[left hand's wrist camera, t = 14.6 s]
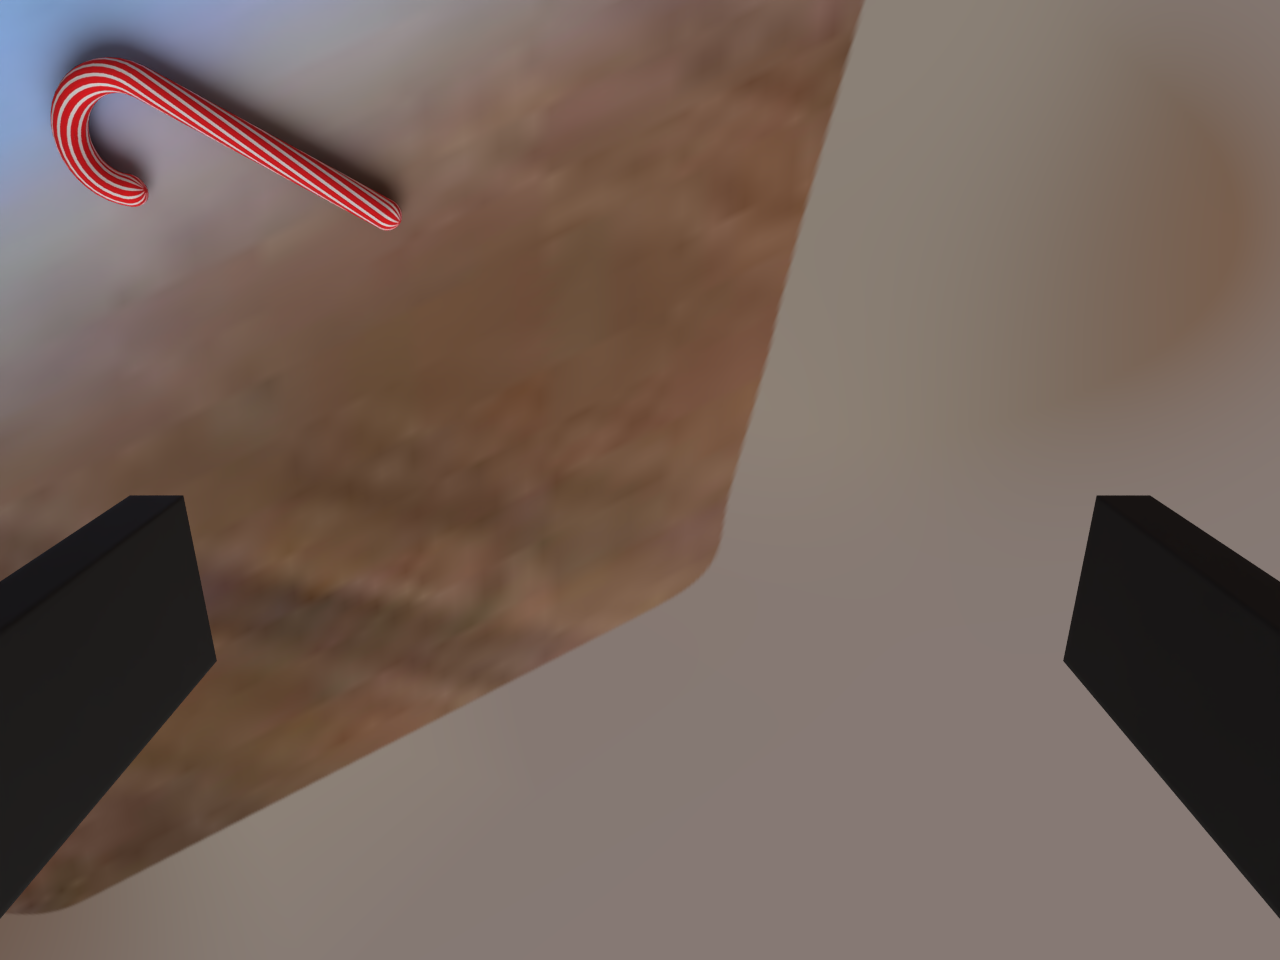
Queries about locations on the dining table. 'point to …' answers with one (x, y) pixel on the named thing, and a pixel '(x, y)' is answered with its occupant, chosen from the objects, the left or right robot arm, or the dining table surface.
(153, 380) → the dining table surface
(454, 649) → the dining table surface
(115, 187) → the candy cane
